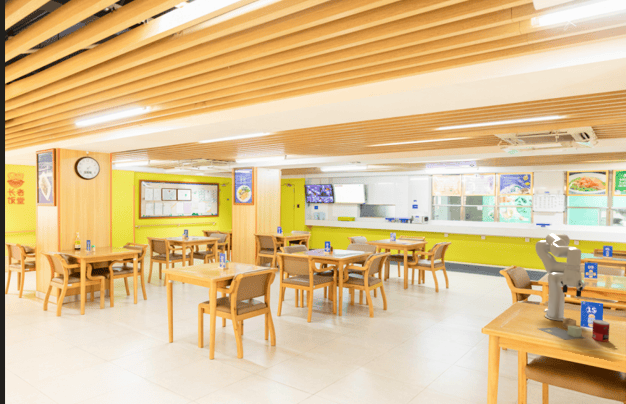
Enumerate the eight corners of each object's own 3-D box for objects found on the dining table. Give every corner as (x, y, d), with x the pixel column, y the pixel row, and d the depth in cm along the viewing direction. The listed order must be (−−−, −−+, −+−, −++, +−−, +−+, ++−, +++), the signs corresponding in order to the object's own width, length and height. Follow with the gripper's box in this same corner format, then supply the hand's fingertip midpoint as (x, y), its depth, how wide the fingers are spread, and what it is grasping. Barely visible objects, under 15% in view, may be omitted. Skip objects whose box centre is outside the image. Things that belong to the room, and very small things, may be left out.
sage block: (567, 334, 244) (567, 326, 244) (573, 333, 246) (574, 325, 246) (575, 337, 240) (575, 328, 240) (581, 336, 241) (581, 328, 241)
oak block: (562, 327, 259) (563, 318, 259) (568, 327, 260) (569, 318, 260) (569, 330, 254) (570, 320, 254) (575, 329, 256) (576, 320, 255)
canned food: (605, 343, 231) (606, 324, 231) (589, 339, 238) (590, 320, 238) (610, 341, 236) (611, 322, 236) (595, 337, 242) (595, 319, 242)
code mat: (536, 329, 253) (536, 328, 253) (556, 327, 258) (556, 327, 258) (565, 340, 234) (565, 339, 234) (586, 338, 239) (586, 337, 239)
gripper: (556, 265, 264) (555, 291, 265) (580, 270, 248) (579, 298, 248) (565, 264, 266) (564, 290, 267) (590, 270, 250) (588, 298, 250)
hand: (571, 294), depth 258 cm, fingers open, 9 cm apart
